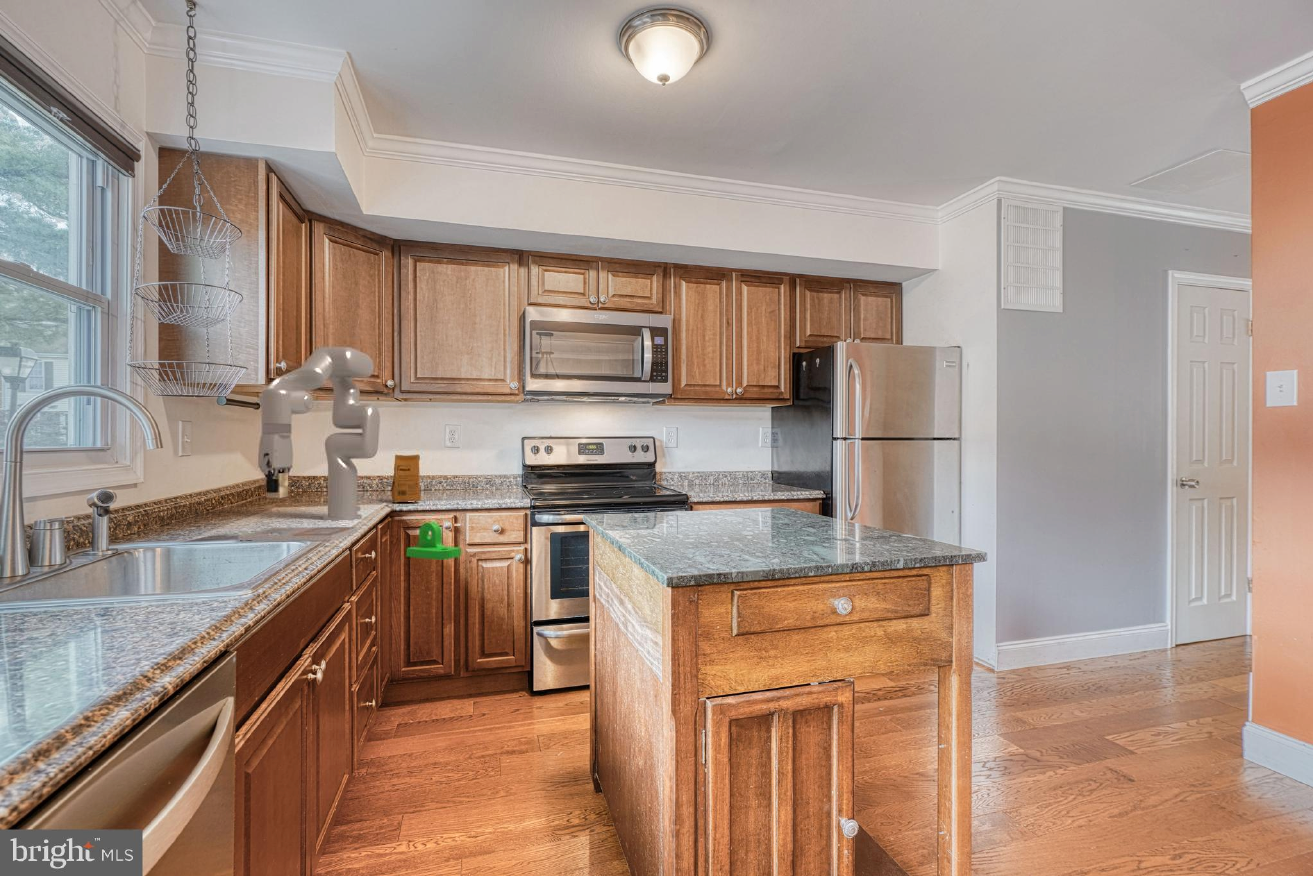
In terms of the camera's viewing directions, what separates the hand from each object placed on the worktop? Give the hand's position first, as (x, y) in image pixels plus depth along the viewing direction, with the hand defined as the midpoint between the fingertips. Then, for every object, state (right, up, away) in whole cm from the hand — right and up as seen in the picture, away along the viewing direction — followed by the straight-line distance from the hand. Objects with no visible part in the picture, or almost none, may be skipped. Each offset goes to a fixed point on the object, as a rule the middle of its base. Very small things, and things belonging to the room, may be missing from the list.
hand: (277, 491), depth 178 cm
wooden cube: (0, -2, 0) cm, 2 cm away
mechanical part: (+58, -14, -29) cm, 66 cm away
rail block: (+7, -13, 0) cm, 15 cm away
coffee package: (-2, -14, +97) cm, 98 cm away
